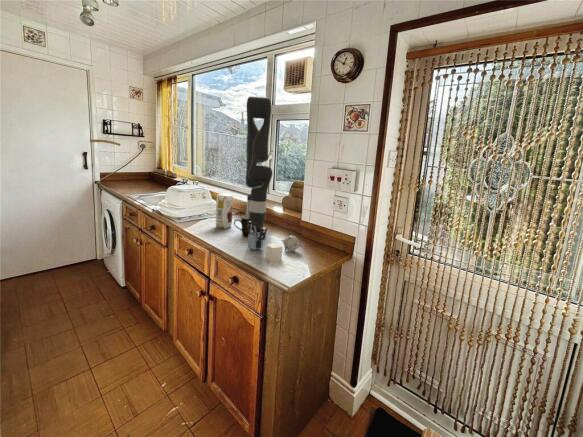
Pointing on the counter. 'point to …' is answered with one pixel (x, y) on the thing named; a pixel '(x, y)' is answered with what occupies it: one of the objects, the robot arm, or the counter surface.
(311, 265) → the counter surface
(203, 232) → the counter surface
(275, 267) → the counter surface
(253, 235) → the slate block
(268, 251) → the cream block
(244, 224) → the coffee mug
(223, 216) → the juice carton
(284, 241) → the game die
